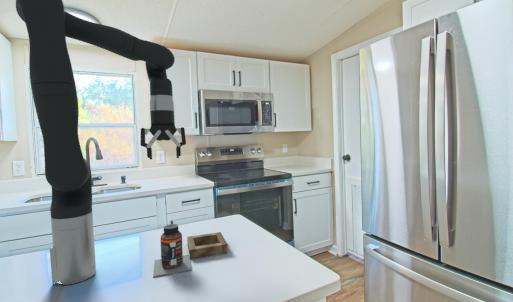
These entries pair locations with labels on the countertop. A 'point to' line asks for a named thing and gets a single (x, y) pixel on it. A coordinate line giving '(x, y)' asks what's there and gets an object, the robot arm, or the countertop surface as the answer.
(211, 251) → the socket collar
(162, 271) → the mat
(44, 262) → the countertop surface
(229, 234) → the countertop surface
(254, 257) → the countertop surface
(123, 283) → the countertop surface
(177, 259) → the supplement bottle
